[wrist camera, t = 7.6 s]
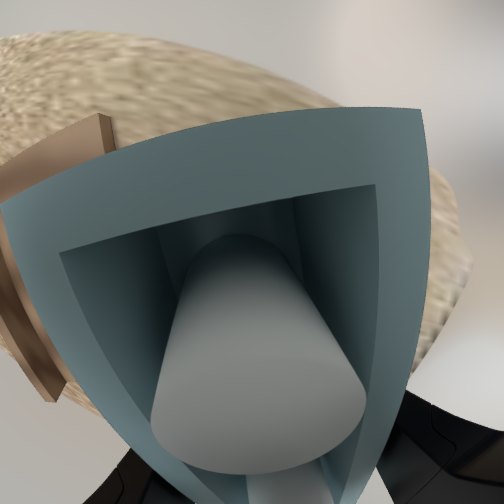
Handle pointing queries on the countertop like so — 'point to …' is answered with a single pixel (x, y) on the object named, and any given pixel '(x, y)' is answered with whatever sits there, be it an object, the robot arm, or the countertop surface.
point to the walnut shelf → (3, 262)
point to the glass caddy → (241, 295)
